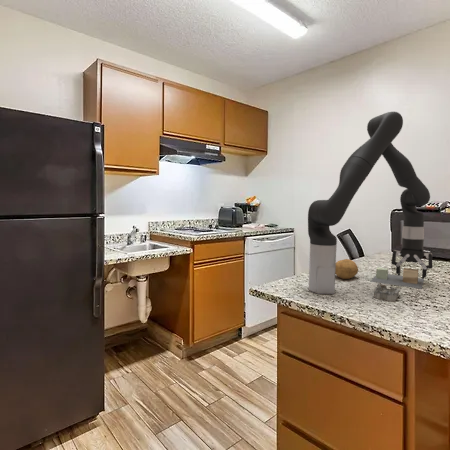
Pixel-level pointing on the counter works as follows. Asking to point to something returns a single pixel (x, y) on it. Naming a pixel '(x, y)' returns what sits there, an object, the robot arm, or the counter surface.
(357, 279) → the counter surface
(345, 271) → the potato
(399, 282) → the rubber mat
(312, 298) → the counter surface
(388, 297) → the miniature stone castle
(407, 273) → the maple block
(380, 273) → the sage block
